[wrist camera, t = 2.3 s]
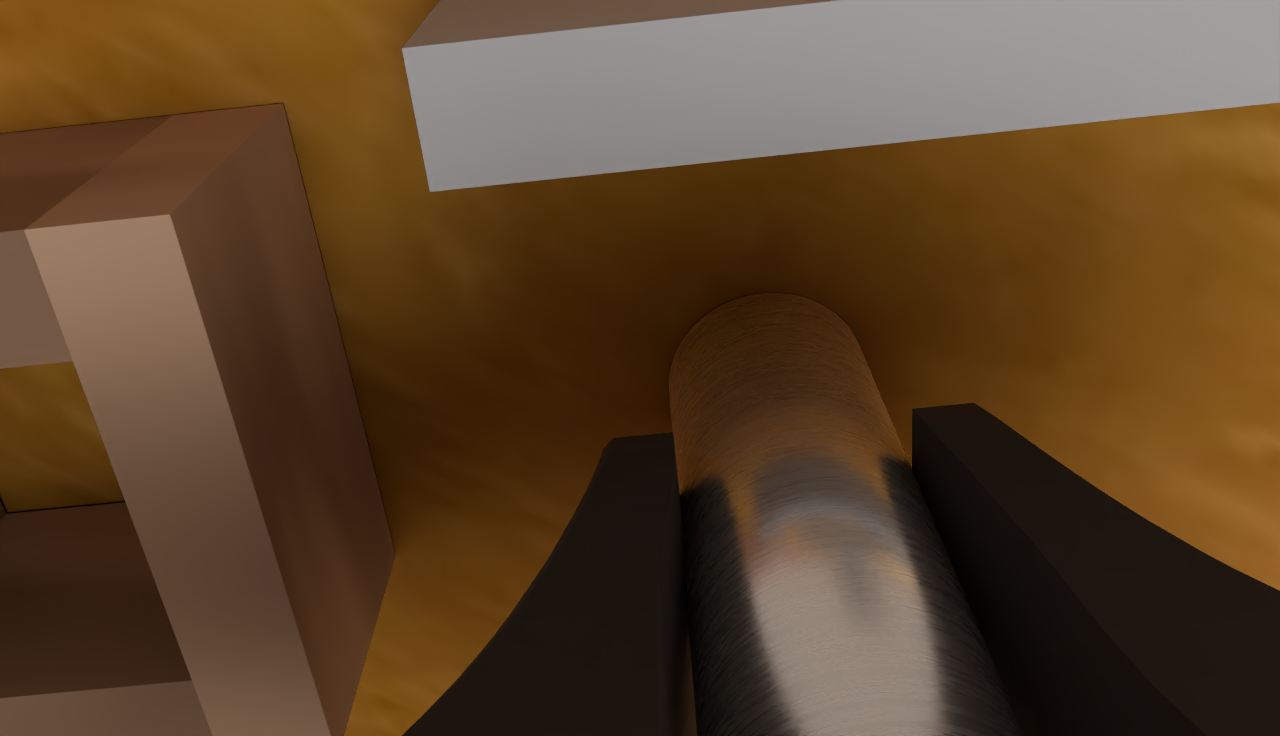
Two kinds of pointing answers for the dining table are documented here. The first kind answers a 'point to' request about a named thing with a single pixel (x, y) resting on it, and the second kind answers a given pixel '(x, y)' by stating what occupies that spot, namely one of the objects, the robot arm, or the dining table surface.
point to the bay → (804, 76)
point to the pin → (813, 543)
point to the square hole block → (186, 439)
